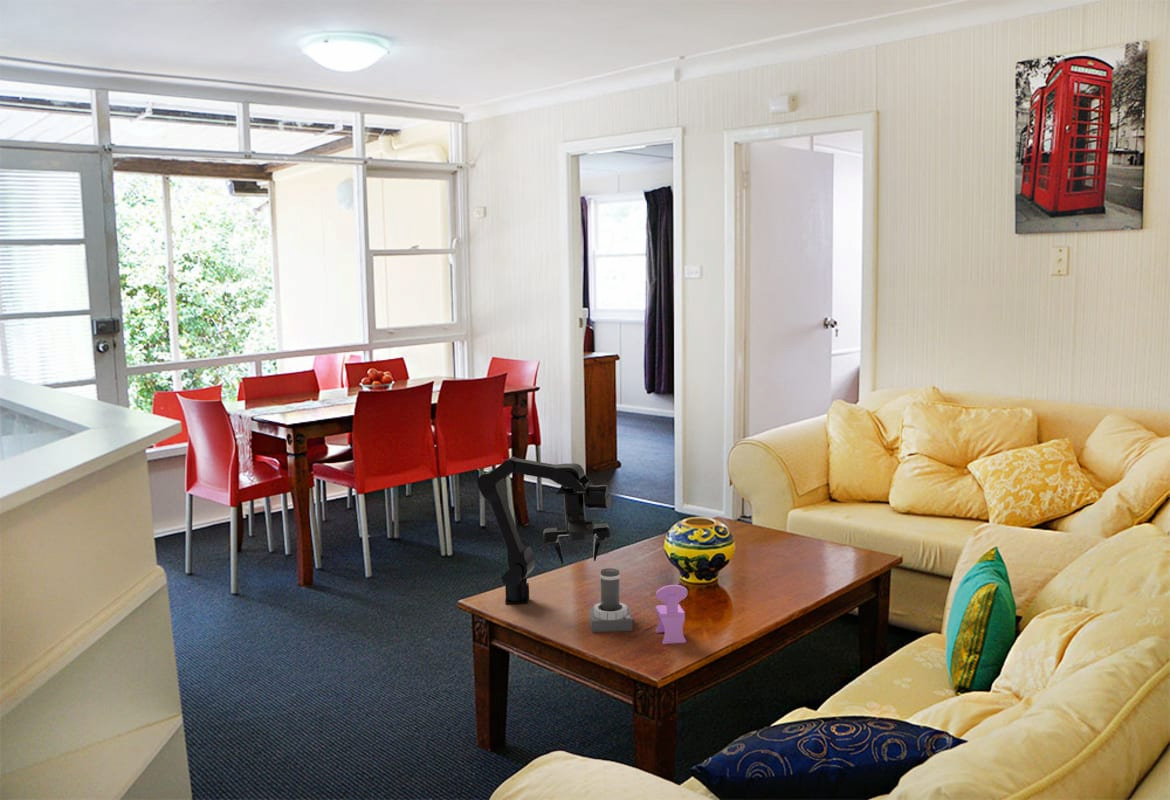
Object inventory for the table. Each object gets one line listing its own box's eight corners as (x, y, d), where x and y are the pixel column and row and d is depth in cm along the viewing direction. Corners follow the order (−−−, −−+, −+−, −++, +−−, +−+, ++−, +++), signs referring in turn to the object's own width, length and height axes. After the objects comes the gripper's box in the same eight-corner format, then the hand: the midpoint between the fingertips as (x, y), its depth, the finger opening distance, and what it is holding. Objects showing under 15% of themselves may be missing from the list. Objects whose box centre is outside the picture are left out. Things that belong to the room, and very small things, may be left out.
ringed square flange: (591, 632, 254) (591, 614, 253) (589, 619, 263) (589, 601, 263) (632, 630, 254) (632, 612, 254) (629, 617, 264) (628, 600, 263)
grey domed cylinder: (597, 615, 258) (596, 572, 256) (607, 609, 262) (606, 567, 260) (613, 618, 255) (613, 575, 253) (623, 612, 259) (623, 570, 258)
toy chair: (682, 629, 254) (681, 575, 252) (690, 642, 246) (689, 586, 244) (651, 631, 253) (651, 577, 251) (658, 644, 245) (658, 588, 243)
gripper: (542, 518, 261) (546, 573, 263) (610, 512, 263) (613, 567, 265) (541, 509, 273) (545, 562, 274) (606, 503, 274) (610, 556, 276)
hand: (578, 562), depth 272 cm, fingers open, 9 cm apart
